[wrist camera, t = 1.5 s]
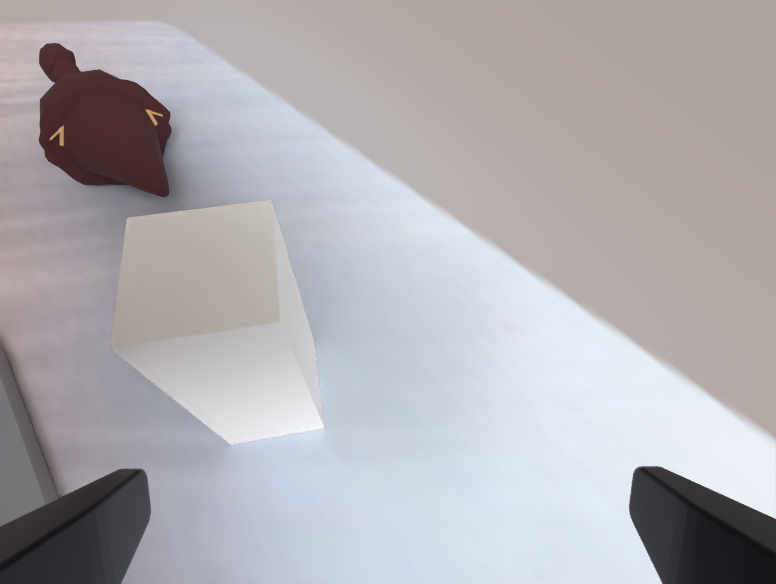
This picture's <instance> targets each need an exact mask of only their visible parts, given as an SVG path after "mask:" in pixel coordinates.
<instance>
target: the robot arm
mask: <svg viewBox="0 0 776 584" xmlns="http://www.w3.org/2000/svg"><path fill="white" fill-rule="evenodd" d="M629 511H630V516H631V519H632V522H633V524H634V526H635V528H636V530H637V532H638V534H639V536H640V538H641V540H642V542H643V544H644V546H645V548H646V551H647V553H648V555H649V557H650V559H651V561H652V563H653V565H654V567H655V569H656V571H657V573H658V575H659V577H660V579H661V582H662V584H776V519H775V518H772V517H770V516H768V515H766V514H763V513H761V512H759V511H757V510H755V509H752V508H750V507H748V506H746V505H744V504H741V503H739V502H737V501H735V500H733V499H730V498H728V497H726V496H724V495H722V494H719V493H717V492H715V491H713V490H711V489H708V488H706V487H704V486H702V485H700V484H697V483H695V482H693V481H691V480H689V479H686V478H684V477H682V476H680V475H677V474H675V473H673V472H671V471H669V470H666V469H664V468H662V467H658V466H641V467H638V468H636V469H635V471H634V473H633V479H632V487H631V495H630V503H629ZM150 514H151V505H150V496H149V488H148V479H147V474H146V472H145V471H144V470H143V469H119V470H117V471H115V472H113V473H110V474H108V475H106V476H104V477H102V478H100V479H98V480H96V481H94V482H92V483H90V484H88V485H85V486H83V487H81V488H79V489H77V490H75V491H73V492H71V493H69V494H67V495H65V496H62V497H60V498H58V499H56V500H54V501H52V502H50V503H48V504H46V505H44V506H42V507H40V508H37V509H35V510H33V511H31V512H29V513H27V514H25V515H23V516H21V517H19V518H17V519H15V520H12V521H10V522H8V523H6V524H4V525H2V526H0V584H121V583H122V581H123V579H124V576H125V574H126V572H127V570H128V567H129V565H130V563H131V561H132V558H133V556H134V554H135V552H136V550H137V547H138V545H139V543H140V541H141V538H142V536H143V534H144V532H145V529H146V527H147V525H148V522H149V519H150Z"/></svg>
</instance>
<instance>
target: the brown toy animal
mask: <svg viewBox="0 0 776 584" xmlns="http://www.w3.org/2000/svg"><path fill="white" fill-rule="evenodd" d="M39 64H40V66H41V68H42V69H43V71H44V72H45V74H46V75H47V76H48V78H49V79H50V80H51V81H53V82H55V84H54V85H53V86H52V87H51V88H50V89H49V90H48V91H47V93H46V94H45V95H44V96H43V97H42V98H41V99H40V131H41V132H40V137H39V143H40V145H41V146H42V148H43V149H44V150H45V157H46V158H47V160H48V161H49V162H51V163H52V164H54V165H56V166H58V167H60V168H61V169H62V170H63V171H65V172H66V173H67V174H68V175H70V176H71V177H72V178H73V179H75V180H76V181H78V182H80V183H82V184H84V185H105V184H114V185H127V184H128V185H131V186H133V187H136V188H139V189H141V190H144V191H146V192H149V193H152V194H155V195H158V196H161V197H166V196H167V195H168V194H169V186H168V181H167V177H166V173H165V168H164V164H163V159H162V157H163V153H164V149H165V145H166V142H167V140H168V138H169V136H170V134H171V127H170V125H169V120H170V112H169V111H168V110H167V109H166V108H165V107H164V106H163V105H162V104H161V103H159V102H158V101H157V100H156V99H155V98H153V97H152V96H151V95H150V94H149V93H148V92H147V91H146V90H145V89H144V88H143V87H141V86H140V85H139V84H137V83H135V82H132V81H129V80H122V79H119V78H117V77H114V76H112V75H110V74H108V73H106V72H104V71H101V70H92V71H85V72H81V71H79V69H78V67H77V66H76V61H75V57H74V54H73V52H72V51H69V50H67V49H66V48H64V47H63V46H62V45H60V44H58V43H51V44H46V45H45V46H44V47H42V48H41V49H40V54H39Z"/></svg>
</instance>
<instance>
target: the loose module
mask: <svg viewBox="0 0 776 584" xmlns="http://www.w3.org/2000/svg"><path fill="white" fill-rule="evenodd" d="M109 348H110V349H111V350H112V351H113V352H115V353H116V354H117V355H118V356H120V357H121V358H122V359H123V360H125V361H126V362H127V363H129V364H130V365H131V366H132V367H134V368H135V369H136V370H137V371H139V372H140V373H141V374H142V375H144V376H145V377H146V378H147V379H149V380H150V381H151V382H152V383H154V384H155V385H156V386H157V387H159V388H160V389H161V390H162V391H164V392H165V393H166V394H168V395H169V396H170V397H171V398H173V399H174V400H175V401H176V402H178V403H179V404H180V405H181V406H183V407H184V408H185V409H186V410H188V411H189V412H190V413H191V414H193V415H194V416H195V417H196V418H198V419H199V420H200V421H201V422H203V423H204V424H205V425H207V426H208V427H209V428H210V429H212V430H213V431H214V432H215V433H217V434H218V435H219V436H220V437H222V438H223V439H224V440H225V441H227V442H228V443H229V444H230V445H233V444H238V443H244V442H250V441H255V440H261V439H267V438H272V437H278V436H283V435H289V434H295V433H300V432H306V431H312V430H317V429H323V428H324V419H323V410H322V401H321V392H320V383H319V374H318V365H317V356H316V347H315V342H314V339H313V336H312V332H311V329H310V326H309V322H308V319H307V316H306V312H305V309H304V306H303V302H302V299H301V295H300V292H299V289H298V285H297V282H296V279H295V275H294V272H293V269H292V265H291V262H290V259H289V255H288V252H287V249H286V245H285V242H284V239H283V235H282V232H281V229H280V225H279V222H278V219H277V215H276V212H275V209H274V205H273V202H272V200H264V201H256V202H248V203H240V204H232V205H224V206H216V207H208V208H200V209H192V210H184V211H176V212H168V213H160V214H152V215H144V216H136V217H128V218H127V220H126V228H125V235H124V243H123V250H122V257H121V265H120V272H119V280H118V287H117V295H116V302H115V309H114V317H113V324H112V332H111V339H110V347H109Z"/></svg>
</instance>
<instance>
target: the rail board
mask: <svg viewBox="0 0 776 584" xmlns="http://www.w3.org/2000/svg"><path fill="white" fill-rule="evenodd" d="M58 498H59V496H58V494H57V491H56V488H55V486H54V483H53V480H52V477H51V475H50V472H49V469H48V467H47V464H46V461H45V459H44V456H43V453H42V451H41V448H40V445H39V443H38V440H37V437H36V434H35V432H34V429H33V426H32V424H31V421H30V418H29V416H28V413H27V410H26V408H25V405H24V402H23V400H22V397H21V394H20V391H19V389H18V386H17V383H16V381H15V378H14V375H13V373H12V370H11V367H10V365H9V362H8V359H7V356H6V354H5V351H4V350H3V349H1V348H0V526H2V525H4V524H6V523H8V522H10V521H12V520H15V519H17V518H19V517H21V516H23V515H25V514H27V513H29V512H31V511H33V510H35V509H37V508H40V507H42V506H44V505H46V504H48V503H50V502H52V501H54V500H56V499H58Z"/></svg>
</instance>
